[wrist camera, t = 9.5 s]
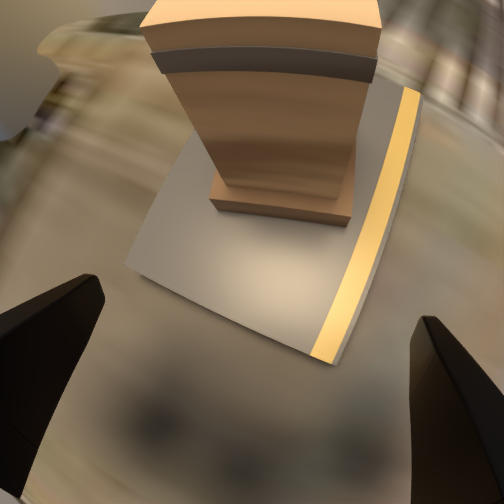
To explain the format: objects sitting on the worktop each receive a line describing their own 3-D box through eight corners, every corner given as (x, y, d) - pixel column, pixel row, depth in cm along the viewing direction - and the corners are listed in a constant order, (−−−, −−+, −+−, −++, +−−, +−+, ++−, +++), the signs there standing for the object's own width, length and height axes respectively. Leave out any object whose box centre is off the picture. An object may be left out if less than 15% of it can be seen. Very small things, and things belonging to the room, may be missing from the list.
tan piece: (346, 227, 16) (420, 57, 5) (217, 210, 17) (102, 52, 6) (353, 125, 17) (385, -53, 6) (239, 114, 19) (184, -55, 7)
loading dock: (331, 359, 17) (336, 366, 15) (142, 271, 20) (122, 264, 18) (414, 115, 20) (424, 95, 17) (255, 65, 22) (250, 42, 20)
